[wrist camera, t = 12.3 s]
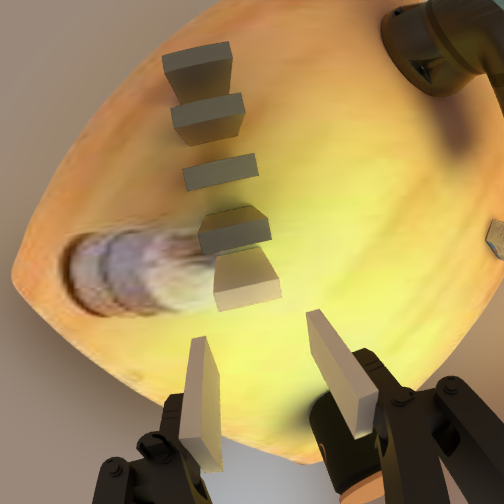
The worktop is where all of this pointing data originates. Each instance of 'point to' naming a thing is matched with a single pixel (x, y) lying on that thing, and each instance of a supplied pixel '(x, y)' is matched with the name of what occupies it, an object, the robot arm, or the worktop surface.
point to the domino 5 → (244, 279)
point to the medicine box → (496, 238)
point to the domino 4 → (233, 229)
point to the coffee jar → (346, 454)
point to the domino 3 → (220, 171)
